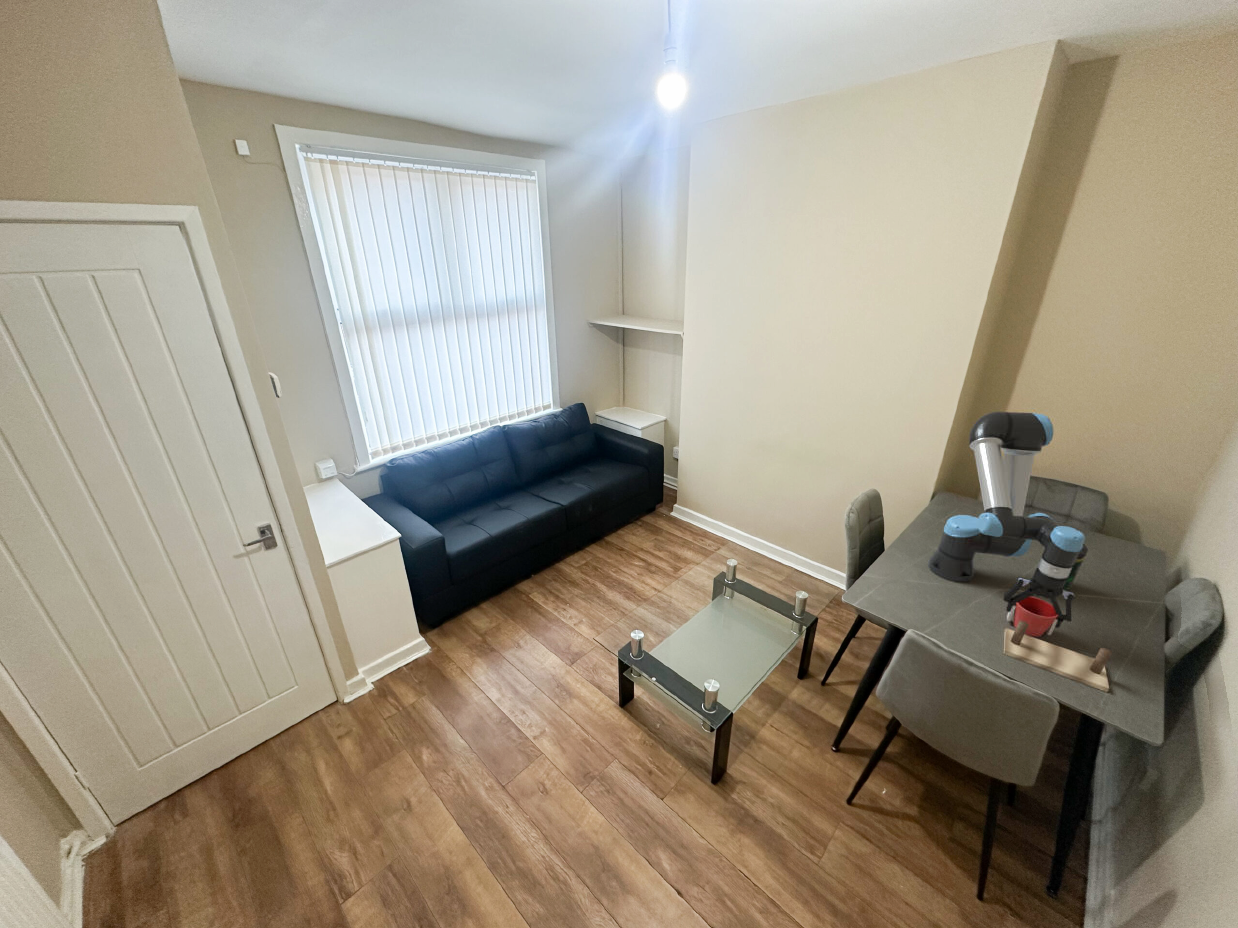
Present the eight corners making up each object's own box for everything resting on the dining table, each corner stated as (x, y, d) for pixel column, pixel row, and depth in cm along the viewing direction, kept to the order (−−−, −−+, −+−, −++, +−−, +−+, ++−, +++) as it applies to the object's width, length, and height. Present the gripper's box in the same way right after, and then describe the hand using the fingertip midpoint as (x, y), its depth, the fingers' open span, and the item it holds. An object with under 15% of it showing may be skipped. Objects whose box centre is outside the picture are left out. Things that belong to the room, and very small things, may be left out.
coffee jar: (1064, 595, 174) (1084, 553, 166) (1038, 583, 180) (1056, 543, 172) (1073, 585, 179) (1092, 544, 171) (1047, 574, 185) (1064, 534, 177)
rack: (1003, 653, 150) (1013, 631, 146) (1004, 631, 158) (1013, 609, 154) (1107, 692, 136) (1121, 668, 132) (1101, 665, 145) (1114, 642, 141)
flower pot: (1007, 612, 166) (1016, 590, 162) (1048, 626, 160) (1058, 604, 156) (1006, 630, 159) (1015, 607, 155) (1048, 645, 152) (1059, 622, 148)
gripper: (1007, 565, 153) (986, 617, 162) (1102, 592, 140) (1073, 647, 150) (1007, 554, 158) (987, 605, 168) (1099, 579, 146) (1071, 633, 155)
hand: (1028, 625), depth 159 cm, fingers closed on flower pot, 10 cm apart
